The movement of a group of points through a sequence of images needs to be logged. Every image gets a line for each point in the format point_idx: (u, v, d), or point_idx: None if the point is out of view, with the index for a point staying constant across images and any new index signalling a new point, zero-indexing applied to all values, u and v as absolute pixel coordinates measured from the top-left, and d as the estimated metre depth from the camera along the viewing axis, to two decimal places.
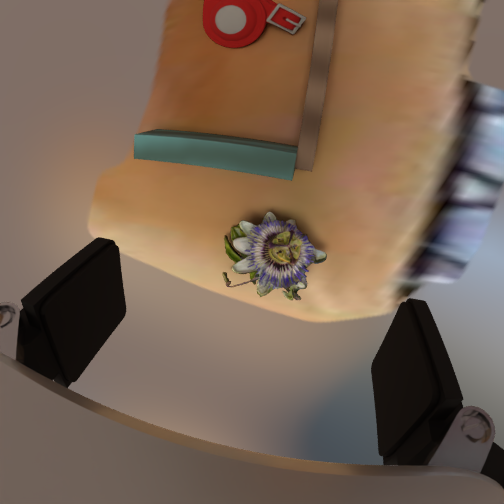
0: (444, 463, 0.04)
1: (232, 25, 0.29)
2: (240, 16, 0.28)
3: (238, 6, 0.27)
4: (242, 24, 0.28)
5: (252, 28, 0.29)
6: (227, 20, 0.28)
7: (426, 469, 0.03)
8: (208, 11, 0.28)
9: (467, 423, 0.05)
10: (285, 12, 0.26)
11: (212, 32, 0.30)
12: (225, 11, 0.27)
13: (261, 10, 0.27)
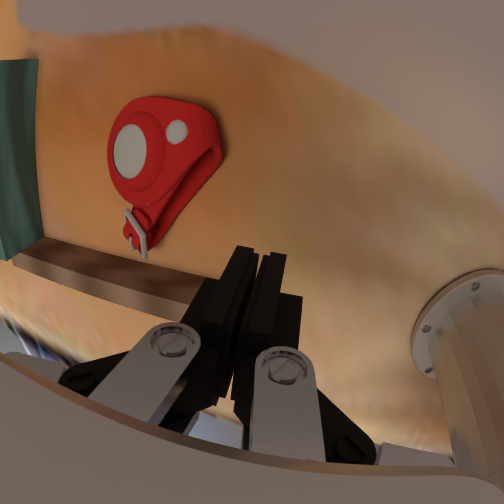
0: (270, 422, 0.05)
1: (119, 155, 0.20)
2: (129, 169, 0.20)
3: (143, 168, 0.19)
4: (120, 171, 0.20)
5: (121, 183, 0.21)
6: (125, 147, 0.19)
7: (426, 469, 0.03)
8: (153, 108, 0.19)
9: (273, 368, 0.06)
10: (137, 239, 0.22)
11: (126, 114, 0.20)
12: (138, 144, 0.19)
13: (143, 201, 0.21)
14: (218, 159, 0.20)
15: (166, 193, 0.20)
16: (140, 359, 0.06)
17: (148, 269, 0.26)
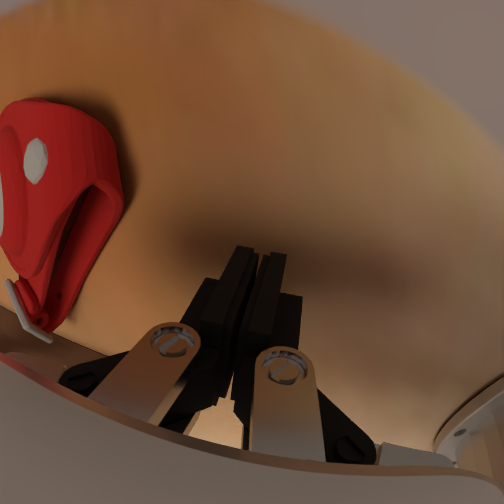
0: (270, 422, 0.05)
1: None
2: None
3: (4, 224, 0.09)
4: None
5: None
6: None
7: (426, 469, 0.03)
8: (16, 119, 0.09)
9: (273, 368, 0.06)
10: None
11: None
12: None
13: (22, 271, 0.11)
14: (116, 202, 0.10)
15: (41, 265, 0.10)
16: (140, 359, 0.06)
17: (71, 352, 0.16)
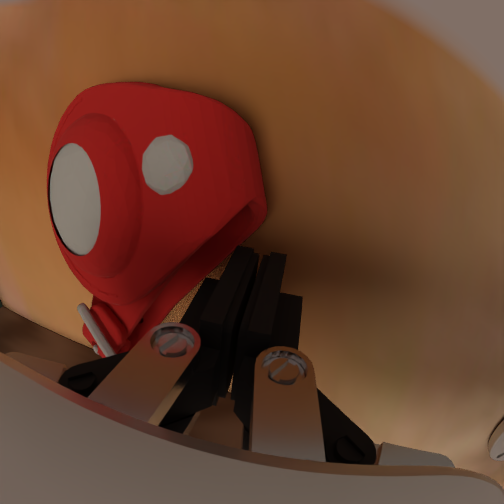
0: (270, 422, 0.05)
1: (56, 205, 0.09)
2: (74, 239, 0.09)
3: (97, 242, 0.09)
4: (62, 236, 0.10)
5: None
6: (63, 192, 0.09)
7: (426, 469, 0.03)
8: (116, 106, 0.08)
9: (273, 368, 0.06)
10: None
11: (70, 121, 0.09)
12: (84, 189, 0.08)
13: (109, 296, 0.11)
14: (257, 221, 0.10)
15: (150, 292, 0.10)
16: (140, 359, 0.06)
17: None
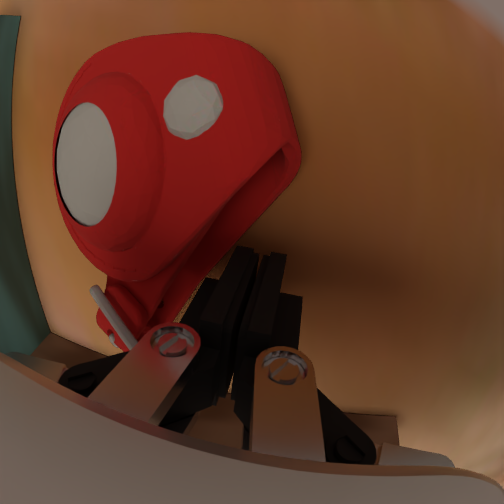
0: (270, 422, 0.05)
1: (64, 174, 0.08)
2: (85, 207, 0.08)
3: (113, 203, 0.08)
4: (71, 208, 0.09)
5: None
6: (72, 157, 0.08)
7: (426, 469, 0.03)
8: (131, 60, 0.07)
9: (273, 368, 0.06)
10: (125, 344, 0.10)
11: (78, 88, 0.09)
12: (97, 147, 0.07)
13: (126, 272, 0.10)
14: (291, 173, 0.09)
15: (174, 259, 0.09)
16: (140, 359, 0.06)
17: None
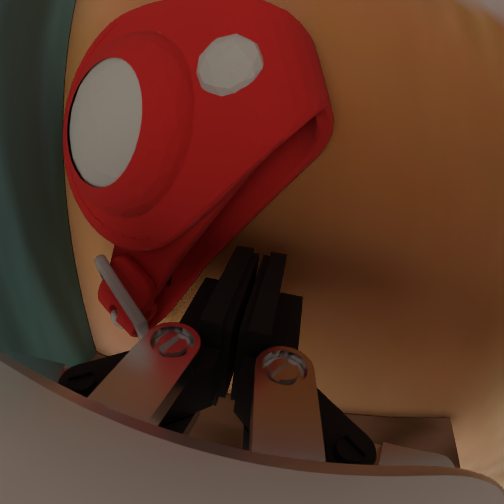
0: (270, 422, 0.05)
1: (79, 132, 0.08)
2: (100, 166, 0.08)
3: (133, 160, 0.07)
4: (82, 169, 0.08)
5: (86, 196, 0.09)
6: (90, 113, 0.07)
7: (426, 469, 0.03)
8: (163, 20, 0.07)
9: (273, 368, 0.06)
10: (129, 321, 0.10)
11: (100, 49, 0.08)
12: (120, 101, 0.07)
13: (137, 240, 0.09)
14: (320, 145, 0.08)
15: (194, 225, 0.08)
16: (140, 359, 0.06)
17: None
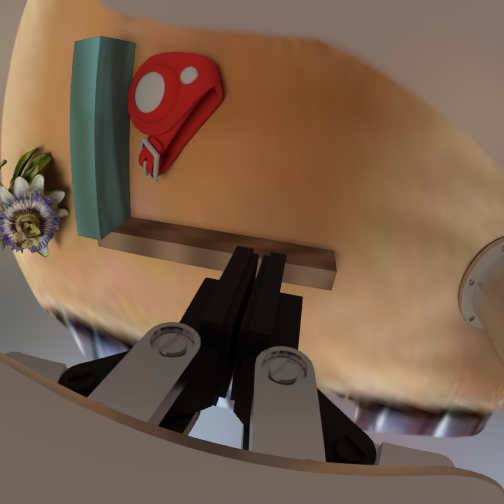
0: (270, 422, 0.05)
1: (141, 95, 0.24)
2: (149, 105, 0.24)
3: (160, 102, 0.23)
4: (141, 107, 0.24)
5: (140, 118, 0.25)
6: (146, 89, 0.23)
7: (426, 469, 0.03)
8: (170, 60, 0.23)
9: (273, 368, 0.06)
10: (151, 161, 0.26)
11: (146, 67, 0.24)
12: (157, 85, 0.23)
13: (158, 130, 0.25)
14: (219, 97, 0.24)
15: (178, 122, 0.24)
16: (140, 359, 0.06)
17: (257, 241, 0.30)
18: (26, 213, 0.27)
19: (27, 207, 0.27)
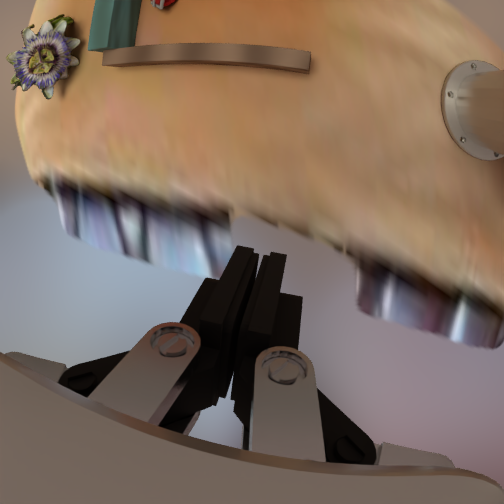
0: (270, 422, 0.05)
1: None
2: None
3: None
4: None
5: None
6: None
7: (426, 469, 0.03)
8: None
9: (273, 368, 0.06)
10: None
11: None
12: None
13: None
14: None
15: None
16: (140, 359, 0.06)
17: None
18: (45, 48, 0.26)
19: (47, 43, 0.26)
